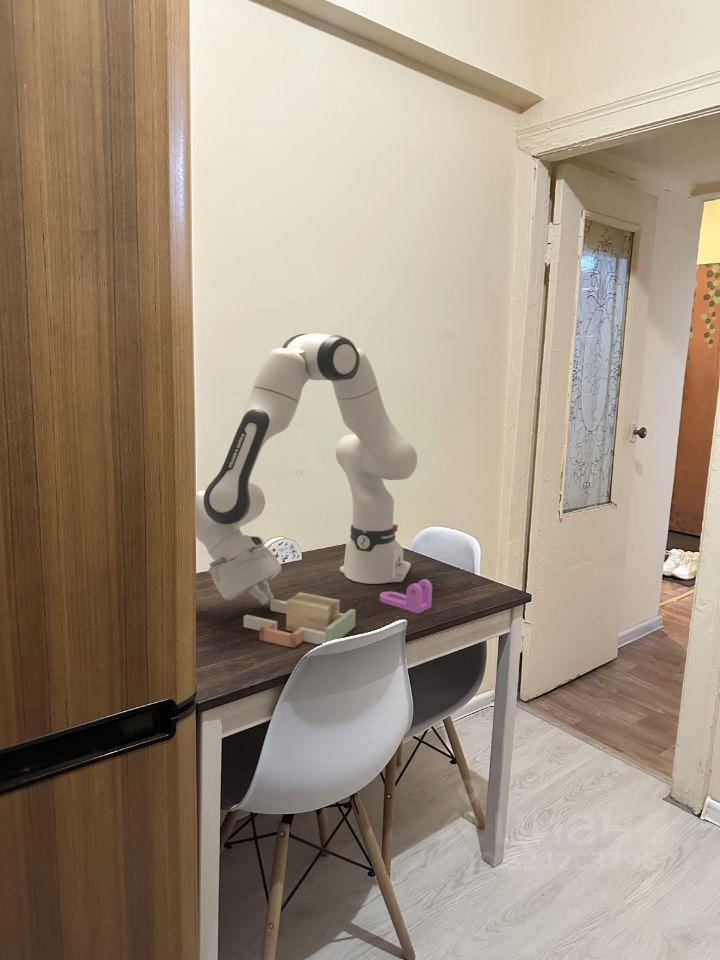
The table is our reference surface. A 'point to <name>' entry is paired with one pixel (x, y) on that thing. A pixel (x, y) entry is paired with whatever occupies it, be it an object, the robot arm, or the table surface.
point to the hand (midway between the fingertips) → (268, 601)
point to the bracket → (411, 597)
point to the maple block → (311, 612)
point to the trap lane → (302, 634)
